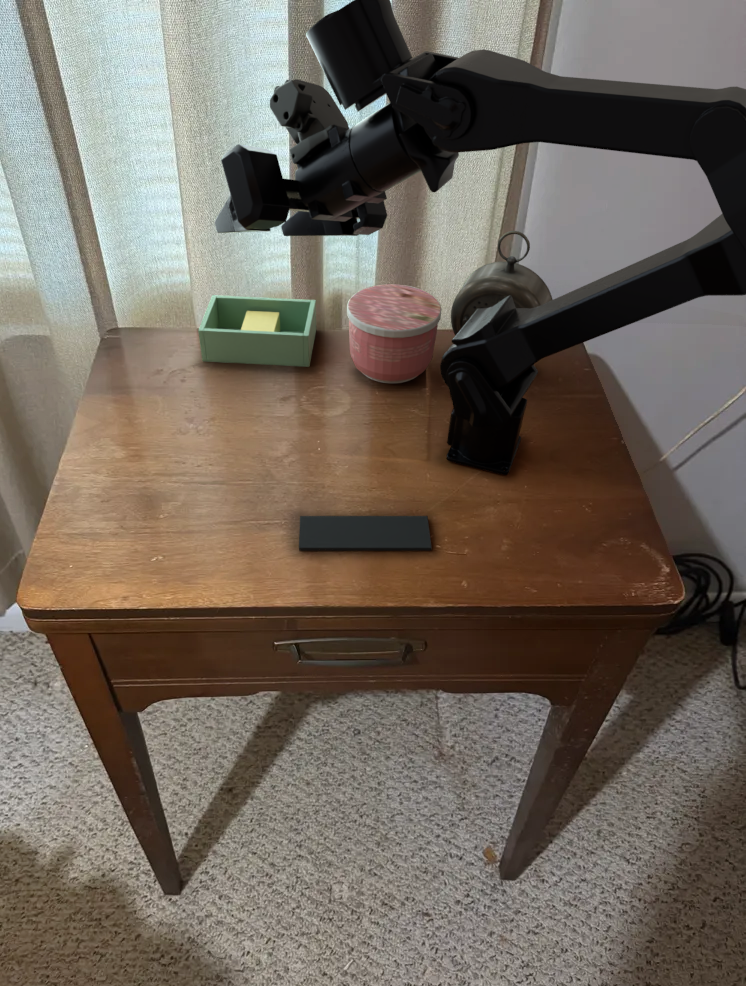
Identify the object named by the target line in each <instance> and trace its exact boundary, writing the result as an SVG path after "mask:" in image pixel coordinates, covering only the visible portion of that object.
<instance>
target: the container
mask: <svg viewBox="0 0 746 986" xmlns="http://www.w3.org/2000/svg"><path fill="white" fill-rule="evenodd" d="M442 311H443V310H442V305H441V303H440V301H439V300H438V299H437V298H436V297H435V296H434V295H433V294H431V293H429V292H428V291H426V290H423V289H421V288H418V287H416V286H415V287H414V286H411V285H405V284H395V283H392V284H391V283H389V284H388V283H387V284H386V283H385V284H378V285H373V286H368V287H366V288H363V289H360V290H359V291H357V292H355V293H354V294H353V295H351V297H350V298H349V299H348V301H347V305H346V316H347V318H348V337H349V338H348V339H349V355H350V357H351V359H352V362H353V365H354V366H355V368H356V369H357V370H358V371H359V372H360V373H362V375H364V376H365V377H366V378H368V379H370V380H372V381H376V382H378V383H383V384H402V383H406V382H410V381H411V380H414V379H415V378H417V377H418V376H419V375H421V374H422V373H424V372H425V371H426V370H427V368H428V367H429V365H430V363H431V361H432V359H433V357H434V351H435V344H436V340H437V339H436V338H437V333H438V324H439V323H440V321H441V318H442Z"/></svg>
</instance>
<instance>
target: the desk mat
mask: <svg viewBox="0 0 746 986" xmlns="http://www.w3.org/2000/svg"><path fill="white" fill-rule="evenodd" d="M429 524H430V523H429V518H428V515H300V516H299V531H298V532H299V534H298V551H299V552H356V551H357V552H373V551H374V552H377V551H378V552H387V551H388V552H390V551H391V552H396V551H397V552H400V551H401V552H406V551H407V552H408V551H409V552H412V551H413V552H420V551H421V552H422V551H423V552H424V551H425V552H430V551H432V550H433V547H432V540H431V539H432V538H431V532H430V531H431V530H430V525H429Z"/></svg>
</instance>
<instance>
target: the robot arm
mask: <svg viewBox="0 0 746 986" xmlns="http://www.w3.org/2000/svg"><path fill="white" fill-rule="evenodd" d="M305 36H306V38H307V41H308V43H309V44H310V46H311V49H312V50H313V53H314V54H315V57H316V59H317V61H318V63H319V65H320V67H321V69H322V71H323V73H324V75H325V77H326V78H327V81H328V84H329V85H330V87H331V90H332V91H333V93H334V96H335V98H336V100H337V102H338V104H339V105H340V106H343V109H344V110H345V111H346V110H348V109H350V108H351V107H352V106H354V107H355V109H356V112H357V113H358V112H361V111H362V110H364V109H365V108H367V107H369V106H370V105H372V104H374V103H375V102H376V101H378V100H379V99H382V98H383V97H384V96H387V99H388V101H389V102H388V103H387V104H385V105H384V106H382V107H380V108H379V109H377V110H376V111H375V112H373V113H371V114H369V115H368V116H367V117H365V118H364V119H362V120H361V121H359V122H357V123H356V124H354V125H353V126H351V127H349V123H348V120H347V119H346V118H345V116H344V114H343V112H342V111H341V109H340V108H339V106H338V104H337V103H336V101H335V100H334V98H333V97H332V95H331V93H329V91H328V90H327V89H326V88H324V87H323V86H321V85H320V84H317V83H316V84H315V83H312V82H309V81H305V80H302V79H298V78H295V79H285V82H284V83H283V84H281V85H276V86H275V87H274V90H273V93H272V96H271V97H270V100H269V109H270V111H271V112H272V114H273V116H274V117H275V119H276V121H277V123H278V124H279V126H280V127H283V128H285V129H286V130H287V132H288V134H289V135H290V138H291V139H292V140H293V142H294V143H295V145H293V146H292V147H291V148H289V149H288V150H289V154H290V157H291V161H292V164H294V165H296V167H297V169H296V170H295V171H294V179H290V178H284V177H283V174H282V169H281V166H280V162H279V159H278V158H279V157H278V155H277V154H276V153H275V152H273V151H271V150H270V149H268V148H264V147H258V146H253V145H246V144H241V143H238V144H236V145H234V146H233V147H232V148H231V149H229V150H228V151H226V152H225V153H223V156H222V158H221V160H220V161H221V165H222V168H223V169H222V170H223V172H224V176H225V180H226V183H227V187H228V190H229V195H228V198H226V201H225V202H224V205H223V206H222V208H221V210H220V212H219V213H218V214H217V216H216V218H215V220H214V226H215V231H216V233H218V234H237V233H241V234H242V233H261V232H262V233H264V232H271V229H273V228H276V227H279V226H281V227H280V228H281V231H282V235H283V236H284V237H357V236H359V235H361V236H370V235H372V234H374V233H376V232H378V231H380V230H382V229H383V228H384V226H385V223H386V220H387V217H388V213H387V208H386V204H385V200H387V192H386V191H388V190H391V189H392V188H394V187H396V186H398V185H399V184H401V183H403V182H404V181H406V180H408V179H410V178H412V177H414V176H415V175H417V174H419V173H421V174H422V176H423V178H424V181H425V183H426V184H427V187H428V189H429V190H430V192H431V193H437V192H438V191H439V190H440V189H441V188H443V187H444V186H445V185H446V184H448V182H450V181H451V180H452V179H453V177H454V170H455V164H456V161H457V159H458V158H459V156H460V153H470V152H483V151H494V150H498V149H503V148H508V147H512V146H516V145H521V144H522V145H523V144H532V143H545V144H553V145H561V146H569V147H578V148H579V147H580V148H588V149H594V150H595V149H596V150H605V151H613V152H621V153H630V154H639V155H648V156H657V157H664V158H665V157H666V158H675V159H684V160H690V161H691V160H692V161H694V162H695V161H696V162H697V164H698V165H699V167H700V168H701V170H702V172H703V174H704V175H705V177H706V178H707V181H708V184H709V186H710V188H711V190H712V193H713V195H714V197H715V200H716V202H717V204H718V207H719V209H720V212H721V214H720V215H718V216H717V217H716V218H715V219H714V220H712V221H711V222H710V223H708V224H707V225H705V227H703V228H702V229H701V230H699V231H698V232H697V233H695V234H694V235H693V236H691V237H690V238H687V239H685V240H683V241H681V242H678V243H677V244H674V245H672V246H670V247H668V248H665V249H663V250H661V251H658V252H656V253H654V254H652V255H650V256H647V257H645V258H643V259H641V260H639V261H636V262H634V263H632V264H629V265H627V266H625V267H623V268H621V269H619V270H616V271H614V272H611V273H609V274H607V275H605V276H603V277H599V278H598V279H596V280H593V281H592V282H589V283H587V284H585V285H583V286H580V287H578V288H575V289H574V290H572V291H569V292H567V293H565V294H563V295H561V296H560V295H559V296H558V297H555V298H554V299H553V298H552V299H553V300H551V301H549V302H547V303H545V304H542V305H540V306H538V307H534V308H516V307H515V304H514V302H513V299H512V296H511V295H509V296H507V297H506V298H504V299H503V300H501V301H500V302H499V303H497V304H496V305H494V306H492V307H489V308H482V309H477V310H476V311H475V313H474V314H473V315H472V316H471V317H470V319H469V320H468V321H467V322H466V324H465V325H464V326H463V327H462V328H461V330H460V331H459V332H458V333H457V335H456V336H455V335H454V337H453V338H452V339H451V343H452V344H451V345H450V346H449V347H448V349H447V350H446V351H445V352H444V354H443V355H442V356H441V360H440V365H439V368H440V375H441V378H442V380H443V382H444V384H445V385H446V386H447V387H448V392H449V396H450V400H451V404H452V407H453V408H452V410H451V412H450V416H449V417H450V418H449V424H448V425H449V426H448V432H447V438H446V444H447V445H448V446H450V447H449V449H448V451H447V453H446V460H447V461H448V462H450V463H454V464H457V465H462V466H466V467H470V468H473V469H478V470H482V471H486V472H491V473H494V474H498V475H501V476H508V475H509V474H510V471H511V469H512V466H513V463H514V460H515V459H516V455H517V452H518V449H519V446H520V444H521V441H522V436H521V430H522V425H523V421H524V417H525V414H526V413H525V412H526V408H527V403H528V399H527V398H525V397H524V396H525V395H526V393H527V391H528V390H529V389H530V387H531V385H532V384H533V382H534V380H535V379H536V377H537V376H538V373H539V371H538V369H537V367H536V366H535V364H536V363H537V362H539V361H541V360H543V359H544V358H547V357H550V356H552V355H555V354H557V353H560V352H562V351H565V350H568V349H571V348H573V347H576V346H578V345H580V344H583V343H586V342H589V341H591V340H593V339H596V338H598V337H601V336H603V335H606V334H608V333H611V332H614V331H616V330H619V329H622V328H624V327H626V326H629V325H632V324H635V323H637V322H639V321H642V320H645V319H647V318H650V317H652V316H655V315H658V314H660V313H662V312H665V311H667V310H670V309H674V308H676V307H678V306H680V305H683V304H685V303H688V302H691V301H694V300H696V299H699V298H702V297H708V296H711V297H713V296H715V297H718V296H721V297H722V296H724V297H725V296H734V297H735V296H746V88H743V87H740V86H726V87H723V88H709V87H708V88H707V87H697V86H696V87H694V86H684V85H683V86H682V85H670V84H659V83H647V82H634V81H624V80H623V81H621V80H609V79H597V78H587V77H574V76H563V75H557V74H554V73H551V72H547V71H545V70H543V69H541V68H539V67H537V66H535V65H534V64H531V63H530V62H528V61H526V60H523V59H520V58H516V57H514V56H510V55H507V54H503V53H500V52H496V51H493V50H490V49H489V50H488V49H475V50H471V51H468V52H466V53H464V54H463V55H461V56H460V57H458V56H452V55H448V54H443V53H438V52H433V51H428V50H425V51H422V52H420V53H419V54H417V55H416V56H414V57H413V56H412V54H411V51H410V49H409V46H408V45H407V42H406V41H405V37H404V35H403V33H402V31H401V28H400V26H399V23H398V22H397V19H396V17H395V14H394V10H393V6H392V3H391V0H352V1H350V2H349V3H347V4H346V5H344V6H343V7H341V8H340V9H337V10H334V11H333V12H330V13H327V14H325V15H324V16H323V17H322V18H321V19H319V20H318V21H317V22H315V24H313V25H312V26H311V27H310V28H309V29H308V30H307V32H306V33H305ZM290 211H294V212H295V213H294V214H293V215H291V216H290V217H289V218H288V216H289V213H290ZM358 220H359V221H358Z"/></svg>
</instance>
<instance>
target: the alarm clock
mask: <svg viewBox="0 0 746 986" xmlns="http://www.w3.org/2000/svg"><path fill="white" fill-rule="evenodd" d="M510 235H511V236H512V235H518V236H520V237H521V238H523V240H524V241H525V244H526V251H525V253H524V254H523V255H522V256H521V257H520V258H518V259H517V258H516V257H515V256H513V255H510V256H508V257H506V256H505V255H504V254H503V252H502V249H501V245H502V242H503V240H504V239H505V238H506V237H508V236H510ZM530 249H531V243H530V240H529V238H528V237H527V236H526V234H525V233H523V232H521V231H518V230H509V231H506V232H505V233H503V234H502V235H501V236H500V238H499V239H498V241H497V252H498V254H499V256H500V257H501V259H502V260H503V261H494V262H489V263H486V264H483V265H482V266H480V267H478V268H477V269H475V270H474V271H473V272H472V273H470V275H469V276H468V277H467V278H466V280H465V281H464V282H463V284H462V286H461V288H460V289H459V291H458V292H457V295H456V296H455V297H454V300H453V301H452V306H451V310H450V323H451V329H452V332H453V334H454V337H455V336H456V335H457V333H458V332H459V331H460V330H461V328H462V327H463V326H464V325H465V324H466V322H467V321H468V320H469V319H470V317H471V316H472V315H473V314H474V313H475V311H476V310H477V309H482V308H489V307H492V306H494V305H496V304H497V303H499V302H500V301H501V300H503V299H504V298H506V297H507V296H509V295H511V296H512V299H513V302H514V304H515V307H516V308H534V307H538V306H540V305H542V304H545V303H547V302H549V301H551V300H553V295H552V293H551V291H550V288H549V287H548V286H547V283H546V282H545V280H543V278H542V277H540V275H539V274H538V273H536V272H535V271H534V270H532V269H531V268H529V267H527V266H525V265H523V264H520V263H519V262H521V261H523V260H524V259H526V257H527V256H528V254H529V253H530Z"/></svg>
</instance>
